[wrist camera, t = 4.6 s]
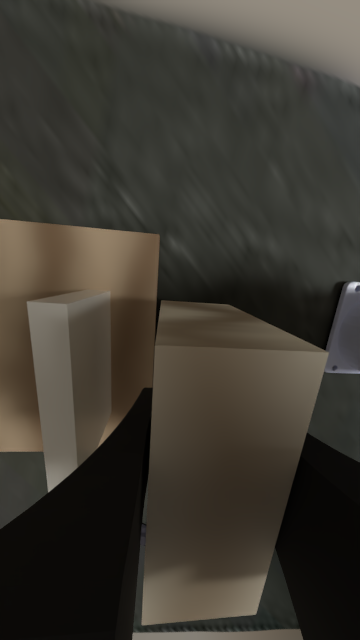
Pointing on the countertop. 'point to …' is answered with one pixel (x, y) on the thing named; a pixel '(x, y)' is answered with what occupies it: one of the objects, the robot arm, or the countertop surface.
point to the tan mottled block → (221, 457)
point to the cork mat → (62, 278)
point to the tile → (71, 376)
